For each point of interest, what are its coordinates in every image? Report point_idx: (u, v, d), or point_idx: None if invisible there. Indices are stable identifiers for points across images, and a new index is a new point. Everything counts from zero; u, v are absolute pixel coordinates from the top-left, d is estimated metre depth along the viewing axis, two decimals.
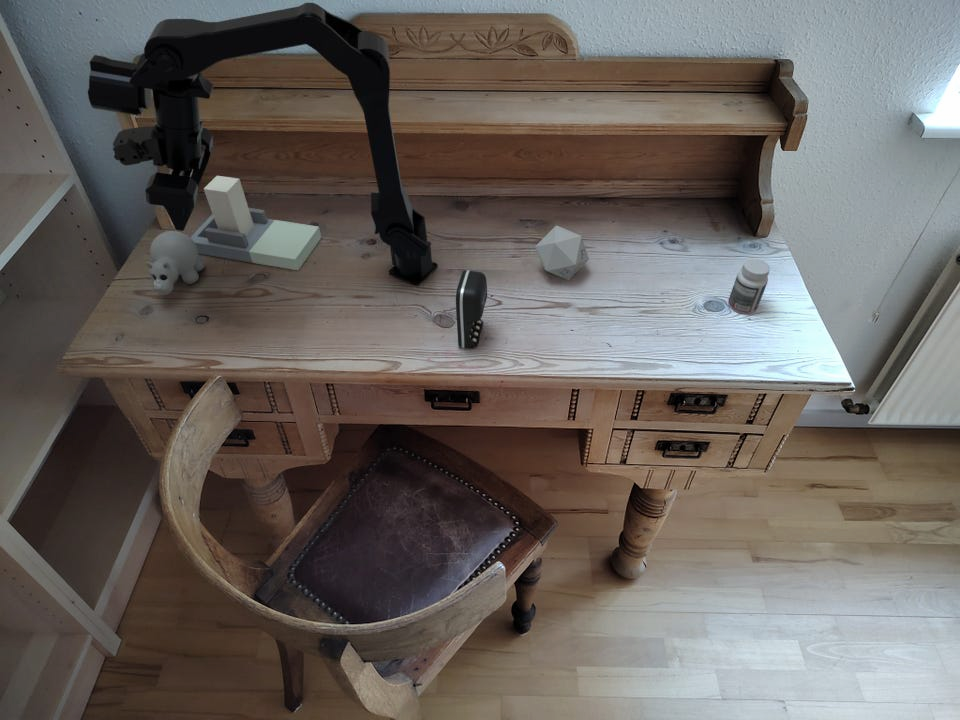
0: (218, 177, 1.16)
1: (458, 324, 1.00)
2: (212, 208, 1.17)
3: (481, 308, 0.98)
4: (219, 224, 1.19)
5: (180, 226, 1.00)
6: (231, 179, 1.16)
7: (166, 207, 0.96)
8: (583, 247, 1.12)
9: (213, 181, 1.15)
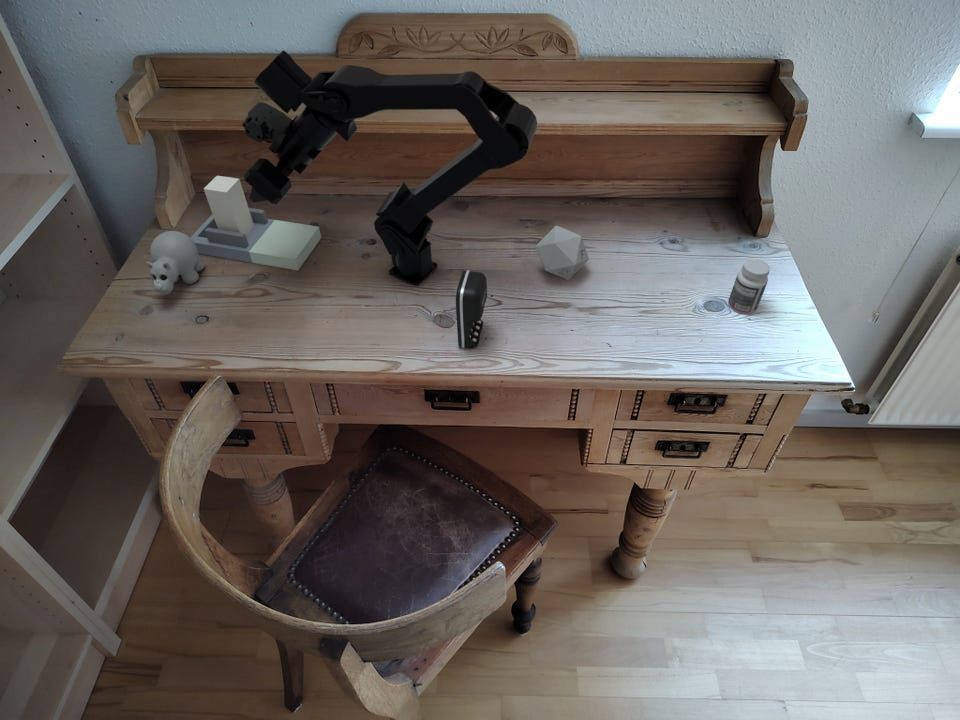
0: (218, 177, 1.16)
1: (458, 324, 1.00)
2: (212, 208, 1.17)
3: (481, 308, 0.98)
4: (219, 224, 1.19)
5: (254, 199, 1.08)
6: (231, 179, 1.16)
7: None
8: (583, 247, 1.12)
9: (213, 181, 1.15)
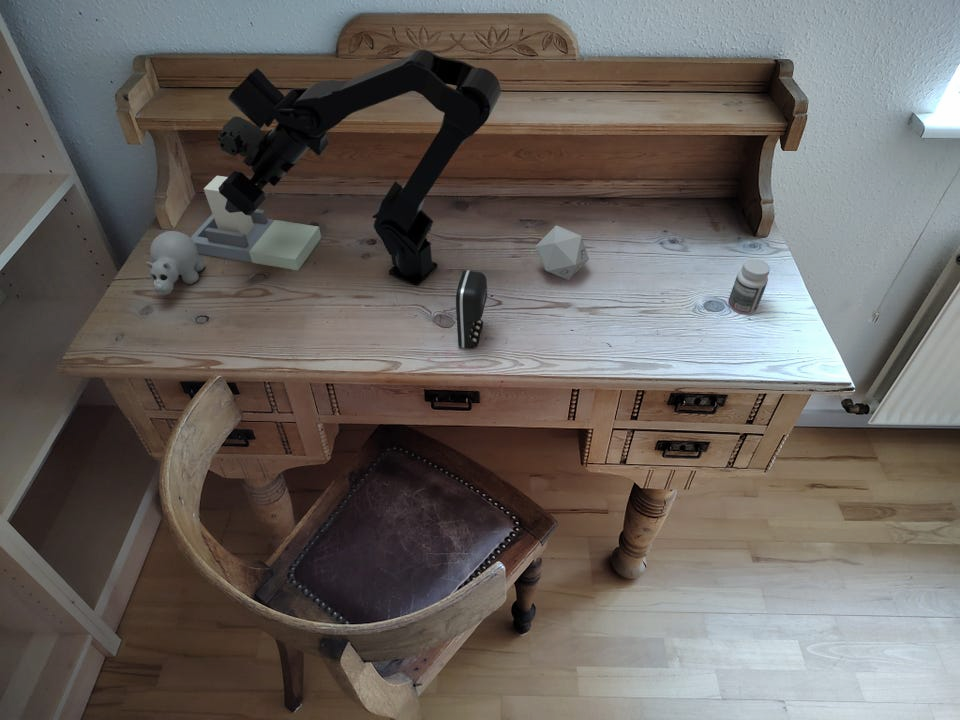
0: (218, 177, 1.16)
1: (458, 324, 1.00)
2: (212, 208, 1.17)
3: (481, 308, 0.98)
4: (219, 224, 1.19)
5: (230, 209, 1.12)
6: None
7: None
8: (583, 247, 1.12)
9: (213, 181, 1.15)
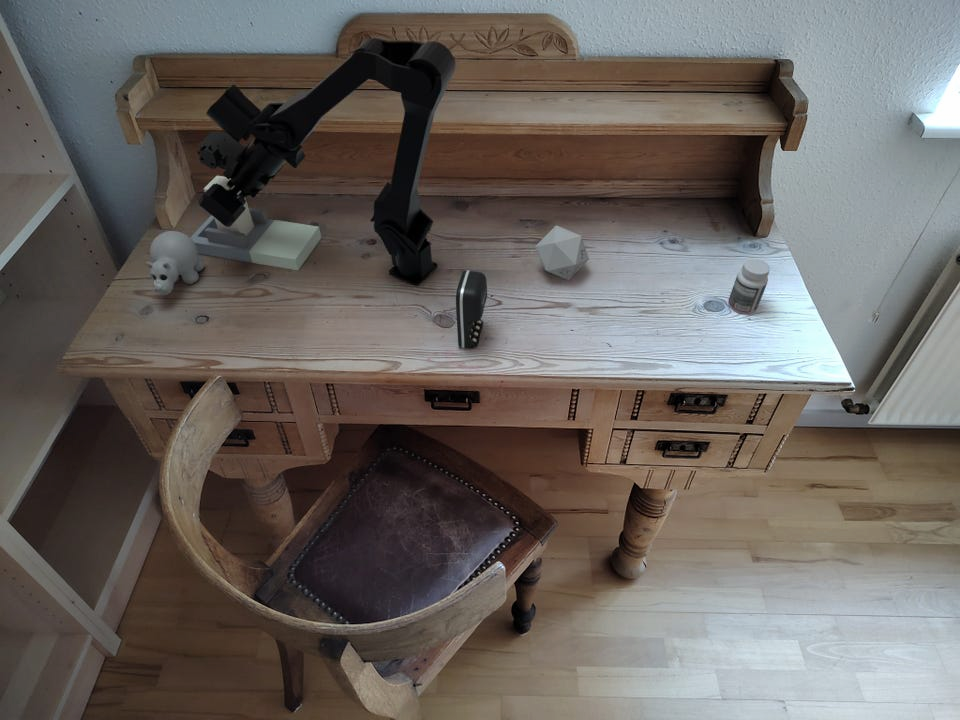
0: (218, 177, 1.16)
1: (458, 324, 1.00)
2: None
3: (481, 308, 0.98)
4: (219, 224, 1.19)
5: None
6: None
7: None
8: (583, 247, 1.12)
9: (213, 181, 1.15)
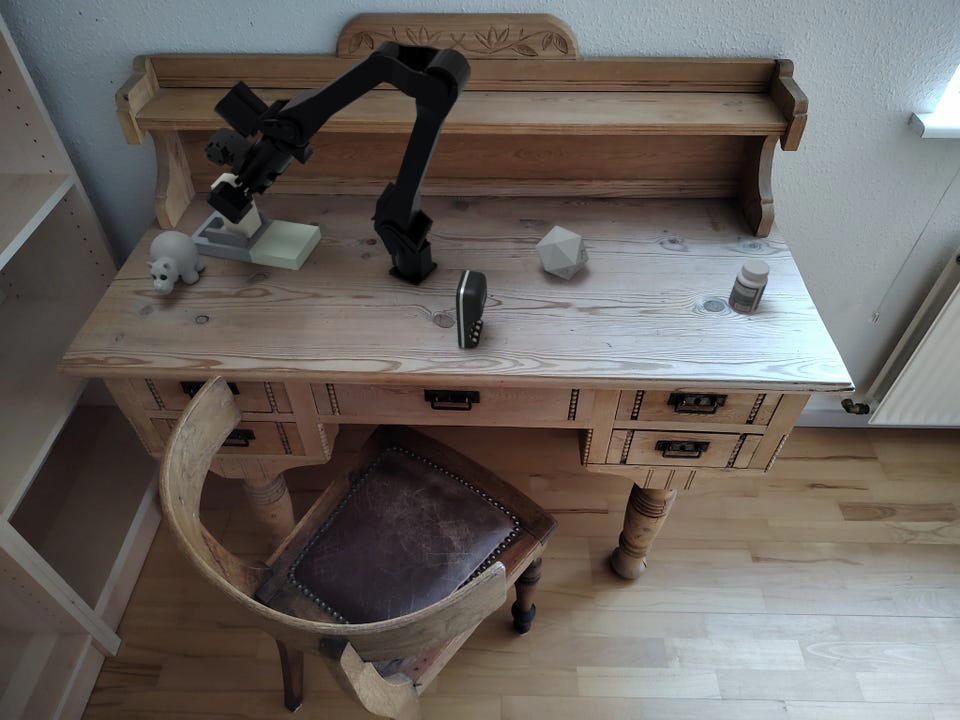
0: (225, 175, 1.15)
1: (458, 324, 1.00)
2: None
3: (481, 308, 0.98)
4: (227, 222, 1.18)
5: None
6: None
7: None
8: (583, 247, 1.12)
9: (220, 179, 1.15)
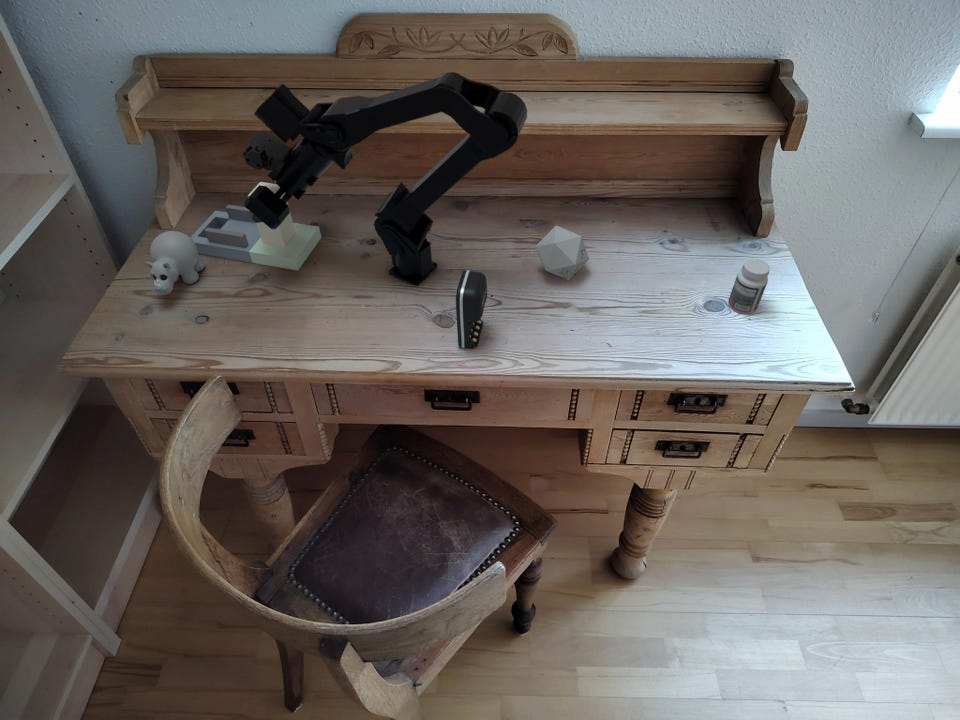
0: (262, 183, 1.15)
1: (458, 324, 1.00)
2: None
3: (481, 308, 0.98)
4: (262, 231, 1.17)
5: (257, 219, 1.13)
6: (275, 185, 1.14)
7: None
8: (583, 247, 1.12)
9: None
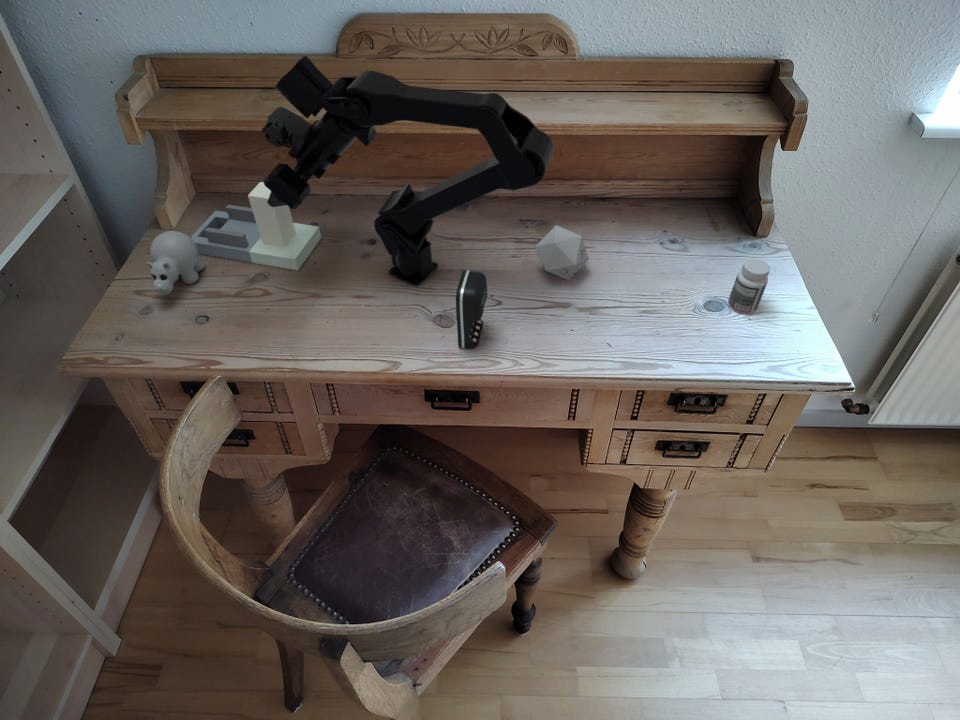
0: (262, 183, 1.15)
1: (458, 324, 1.00)
2: (255, 215, 1.15)
3: (481, 308, 0.98)
4: (262, 231, 1.17)
5: (272, 203, 1.08)
6: None
7: None
8: (583, 247, 1.12)
9: (257, 187, 1.14)
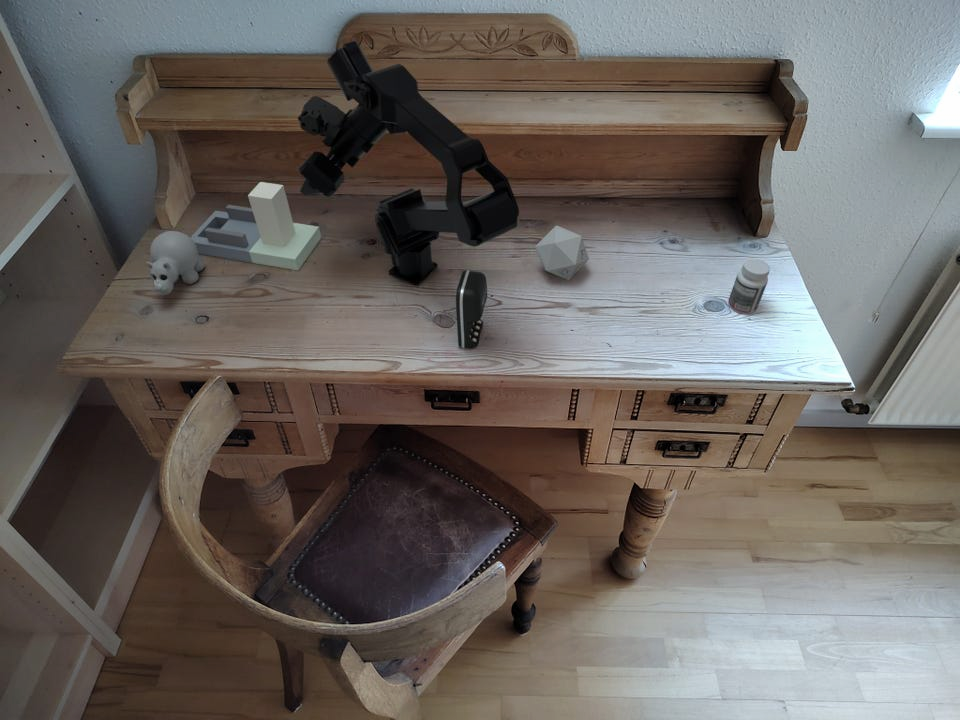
0: (262, 183, 1.15)
1: (458, 324, 1.00)
2: (255, 215, 1.15)
3: (481, 308, 0.98)
4: (262, 231, 1.17)
5: (305, 192, 1.10)
6: (275, 185, 1.14)
7: None
8: (583, 247, 1.12)
9: (257, 187, 1.14)
